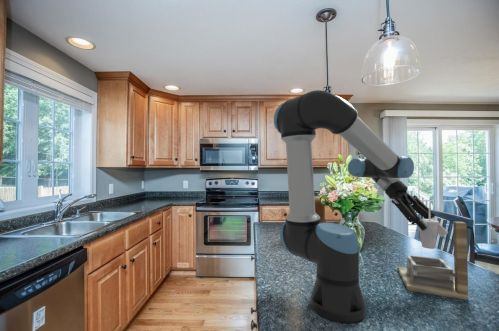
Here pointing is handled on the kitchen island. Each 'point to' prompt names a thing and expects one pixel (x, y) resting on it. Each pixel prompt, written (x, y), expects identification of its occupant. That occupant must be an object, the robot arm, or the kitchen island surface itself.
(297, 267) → the kitchen island surface
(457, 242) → the cup bracket
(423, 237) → the smoothie
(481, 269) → the kitchen island surface
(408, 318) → the kitchen island surface
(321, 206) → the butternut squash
